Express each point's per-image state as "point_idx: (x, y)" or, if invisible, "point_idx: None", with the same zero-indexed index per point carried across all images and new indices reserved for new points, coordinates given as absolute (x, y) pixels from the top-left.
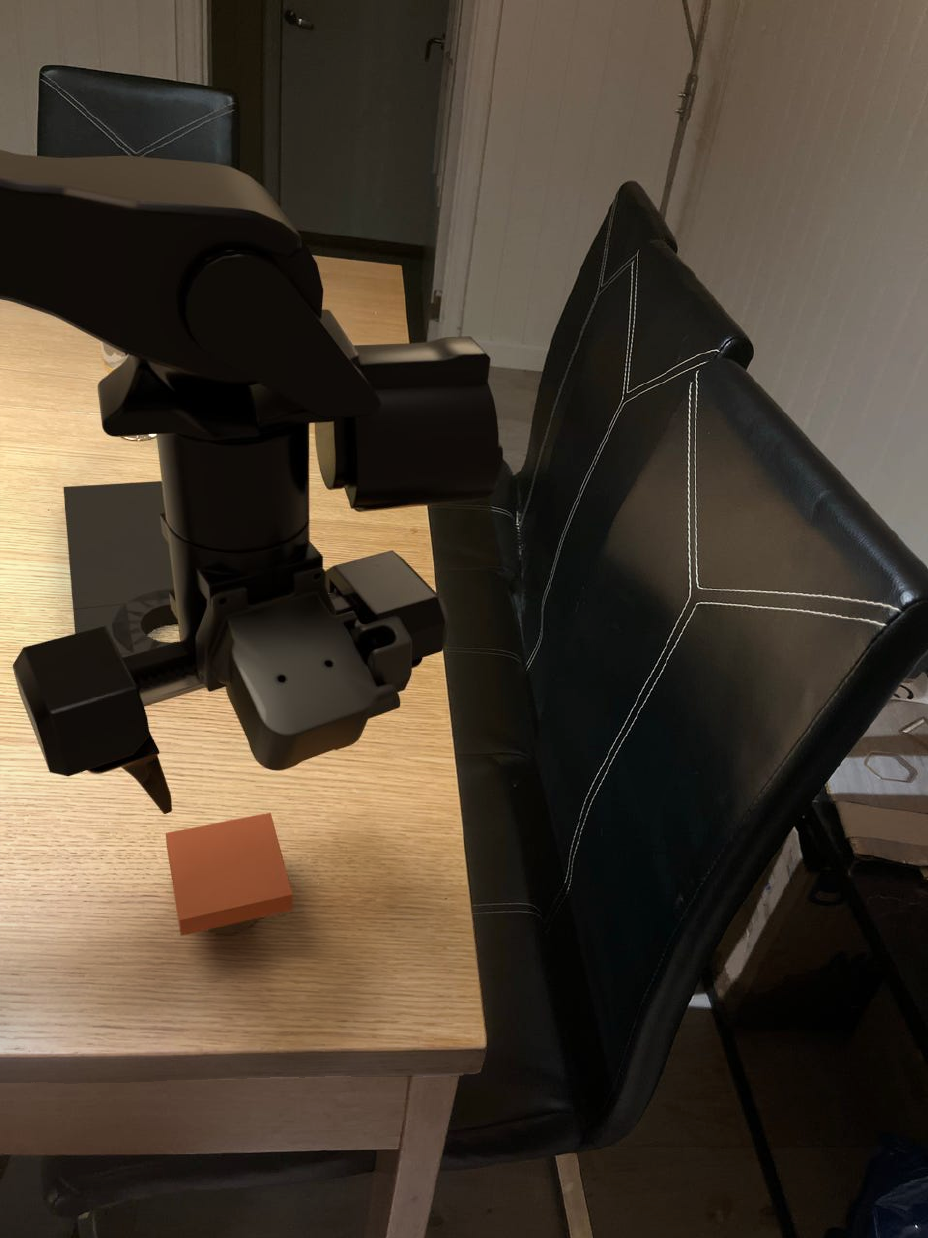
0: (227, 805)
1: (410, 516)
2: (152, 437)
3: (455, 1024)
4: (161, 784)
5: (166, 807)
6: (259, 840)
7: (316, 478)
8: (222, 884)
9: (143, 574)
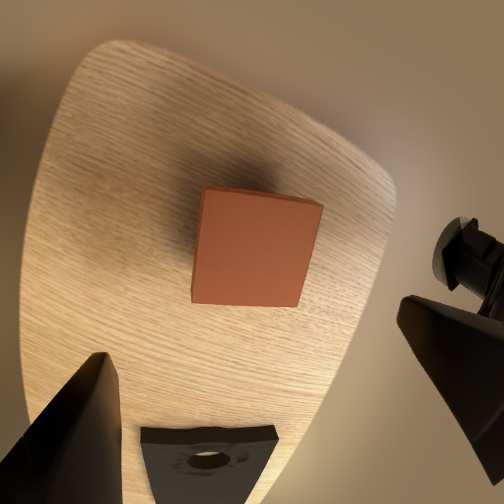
0: (209, 329)
1: None
2: None
3: (103, 45)
4: (474, 324)
5: (421, 300)
6: (215, 272)
7: None
8: (271, 231)
9: (217, 482)
